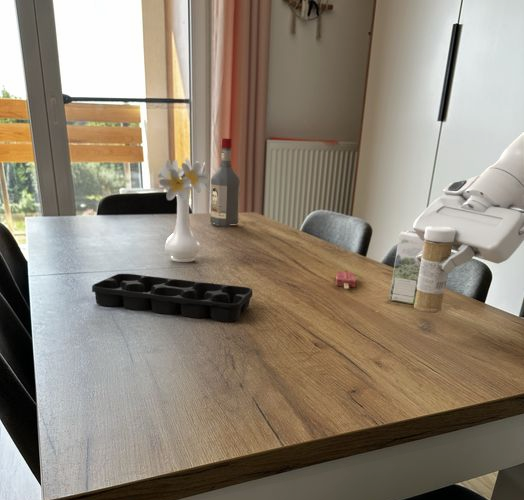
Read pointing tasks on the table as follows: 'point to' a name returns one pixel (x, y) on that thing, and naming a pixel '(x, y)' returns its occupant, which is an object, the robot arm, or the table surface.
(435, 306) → the spice jar
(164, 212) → the table surface
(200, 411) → the table surface
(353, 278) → the popsicle
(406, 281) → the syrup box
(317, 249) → the table surface
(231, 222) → the liquor
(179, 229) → the flower vase
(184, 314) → the egg carton
